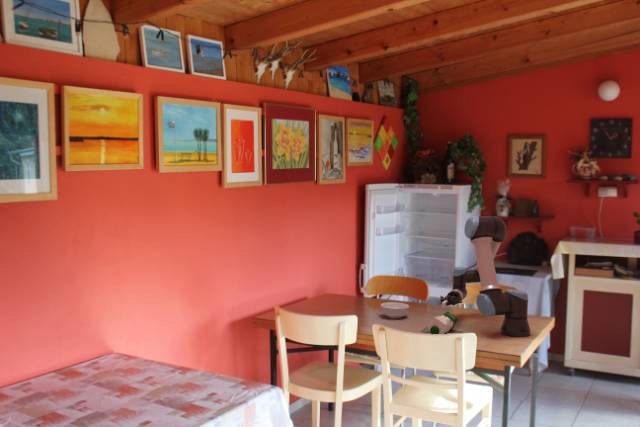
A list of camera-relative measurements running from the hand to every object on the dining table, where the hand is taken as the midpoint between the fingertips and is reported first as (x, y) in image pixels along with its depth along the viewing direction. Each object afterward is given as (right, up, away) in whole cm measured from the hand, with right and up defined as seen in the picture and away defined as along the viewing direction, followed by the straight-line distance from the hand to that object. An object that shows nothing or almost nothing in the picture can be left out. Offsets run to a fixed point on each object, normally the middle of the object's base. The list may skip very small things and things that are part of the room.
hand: (443, 305), depth 342 cm
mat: (-1, -14, -1) cm, 14 cm away
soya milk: (+5, -9, +4) cm, 11 cm away
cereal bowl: (-22, -12, +32) cm, 41 cm away
